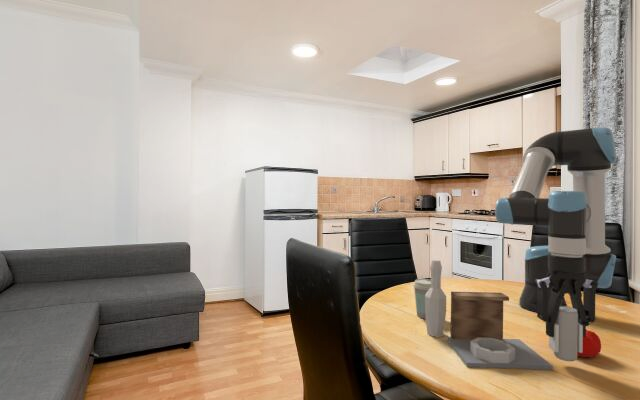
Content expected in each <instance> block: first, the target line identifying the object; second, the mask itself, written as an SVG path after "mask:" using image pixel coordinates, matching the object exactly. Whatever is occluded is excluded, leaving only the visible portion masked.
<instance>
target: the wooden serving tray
mask: <svg viewBox="0 0 640 400" xmlns="http://www.w3.org/2000/svg"><path fill="white" fill-rule="evenodd" d="M505 301H506V302H509V301H510V297H509V296H508V295H506V294H504V292H486V291H485V292H483V291H482V292H481V291H479V292H478V291H450V337H451V338H452V339H475V338H477V337H479V338H494V339H498V340H503V339H504V302H505Z"/></svg>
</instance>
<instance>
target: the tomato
mask: <svg viewBox="0 0 640 400" xmlns="http://www.w3.org/2000/svg"><path fill="white" fill-rule="evenodd" d="M601 343H602V341H601V339H600V336H599V335H598V334H597V333H596V332H594V331H592V330H589V329H588V328H586V336H585V338H583V353H579V352H578V351H577V357H580V358H594V357H597V356H598V355H599V354H600V353H601V350H602V344H601Z"/></svg>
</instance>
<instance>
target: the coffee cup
mask: <svg viewBox="0 0 640 400" xmlns="http://www.w3.org/2000/svg"><path fill="white" fill-rule="evenodd" d="M413 288H414V296H415V297H414V299H415V307H416V308H415V309H416V310H415V311H416V316H417V317H418V318H420V319H424V320H426V316H425V294H426V293H427V291H428V290H429V289H430V288H431V279H429V278H427V279H426V278H419V279H417V278H416V279H415V280H414V283H413Z"/></svg>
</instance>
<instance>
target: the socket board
mask: <svg viewBox="0 0 640 400" xmlns="http://www.w3.org/2000/svg"><path fill="white" fill-rule="evenodd" d="M446 341H447V343H448V344H449V345H450V347H451V348H452V349H453V351H454V352H455V354H456V355H457V356H458V357H459V358H460V360H461V361H462V362H463V363H464V365H465V366H466V368H490V369H517V370H519V369H521V370H545V371H548V370H550V371H553V369H554V365H552V363H550V362H549V361H548V360H546V359H545V358H544V357H542V356H541V355H540V354H539V353H538V352H536V351H535V350H534V349H532V348H531V347H530V346H529V345H527V344H526V343H525V342H523V341H522V340H521V339H519V338H503V340H498V339H494V338H479V337H477V338H475V339H452V338H451V336H447V337H446Z"/></svg>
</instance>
